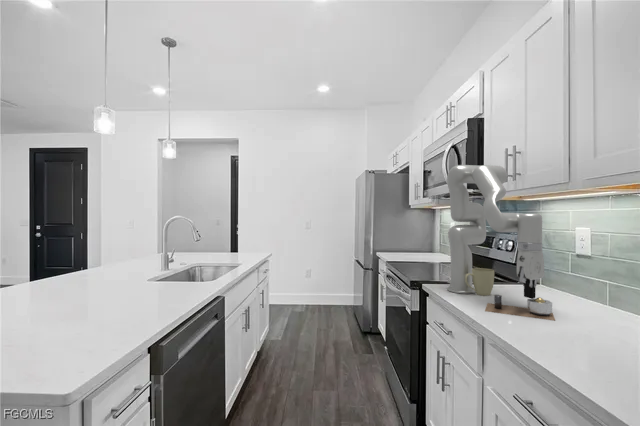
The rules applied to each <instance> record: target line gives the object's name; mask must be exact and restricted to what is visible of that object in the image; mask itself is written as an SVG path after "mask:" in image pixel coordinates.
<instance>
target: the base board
mask: <svg viewBox="0 0 640 426" xmlns="http://www.w3.org/2000/svg"><path fill="white" fill-rule="evenodd" d="M484 312H487V313H495V314H502V315H503V314H504V315H510V316H517V317H524V318H525V317H526V318H532V319H540V320H547V321H554V322H555V321H556V318H555V316H554V312H553V311H552V313H550V314H549V316H538V315H534V314H531V313H530V311H529V310H528V309H527V307H523V306H514V305H507V304H502V309H495V308H494V303H491V302H487V304H486V306H485V309H484Z"/></svg>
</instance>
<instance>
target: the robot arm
mask: <svg viewBox="0 0 640 426" xmlns="http://www.w3.org/2000/svg"><path fill="white" fill-rule="evenodd" d="M507 180H508V172H507V170H506V169H505V168H504V167H503V166H501V165H491V164H490V165H489V164H488V165H487V164H484V165H483V164H482V165H475V164H473V165H472V164H470V165H469V164H458V165H454V166H452V167H451V168H450V170H448V174H447V177H446V182H447V188H448V192H449V206H450V209H449V211H450V217H451V219H452V221H453V222H457V223H469V224H456V225H453V226H451V227H450V228H449V229H448V233H447V235H448V243H449V250H450V253H449V254H450V279H449V280H448V281H447V284H449V286H447V291H449V292H451V293H455V294H461V295H462V294H463V295H464V294H469V295H470V294H476V291H474V290H475V288H474V287H473V277H472V276H471V275H468V276H467V282H468V284H469V285H470V286H471V287H472V288H473V289H474V290H473V289H471V288H470V287H469V286H468V285H467V284H466V282H465V276H466V274H468V273H470V274H472V269H473V254H472V250H471V248H470V247H469V245H470V246H471V245H472V246H473V245H481V244H483V243H484V242H485V241H486V238H487V224H488V226H490V228H491V229H492V230H493V231H495V232H497V233H517V251H518V252H517V257H516V276H517V278H519V283H522V286H523V297H524V298H527V299H531V298H534V299H536V287H537V282H538V281H540V279H543V278H544V277H545V260H544V259H545V258H544V255H543V217H542V214H539V213H522V212H501V211H500V209H499V207H498V206H497V202H498V201H500V200H502V199H503V198H504V197H505V196H506V194H507V190H506V188H505V186H504V185H503V184H504V183H506V182H507ZM465 184H475V185H476V186H477V188H478V190H479V192H480V193H481V195H482V196H483V198H484V201H483V205H482V204H481V203H479V202H470V193H469V191H468V188H467V187H466V186H465ZM486 223H487V224H486Z"/></svg>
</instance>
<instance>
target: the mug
mask: <svg viewBox="0 0 640 426" xmlns="http://www.w3.org/2000/svg"><path fill="white" fill-rule="evenodd" d="M468 275H471V276H472V287H471V286H470V285H469V284H468V282H467V276H468ZM465 282H466V284H467V285H468V286H469V287H470V288H471V289H473V288H474V289H475V290H474V289H473V290H474V291H476V292H475V294H476V296H477V295H478V296H483V297H484V296H485V297H488V296H491V295H492V291H493V288H494V283H495V270H494V269H492V268H483V267H481V268H480V267H476V268H472V274H470V273H468V274H466V276H465Z"/></svg>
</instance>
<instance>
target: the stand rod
mask: <svg viewBox="0 0 640 426" xmlns="http://www.w3.org/2000/svg"><path fill="white" fill-rule="evenodd" d="M493 296H494V297H493V299H494V301H493V302H494V303H493V304H494V308H495V309H502V305H503V300H502V299H503V298H502V295H501V294H494V295H493Z"/></svg>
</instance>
